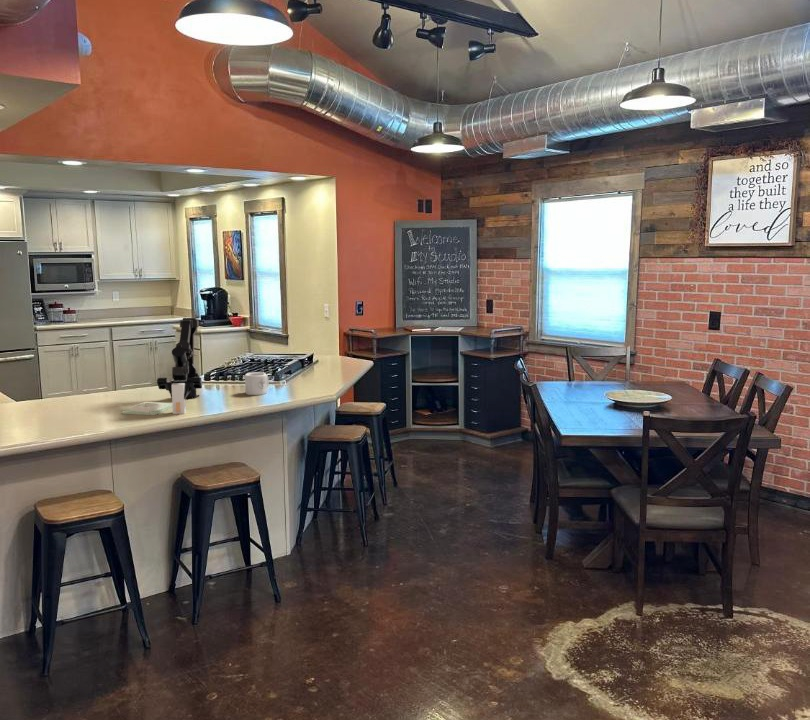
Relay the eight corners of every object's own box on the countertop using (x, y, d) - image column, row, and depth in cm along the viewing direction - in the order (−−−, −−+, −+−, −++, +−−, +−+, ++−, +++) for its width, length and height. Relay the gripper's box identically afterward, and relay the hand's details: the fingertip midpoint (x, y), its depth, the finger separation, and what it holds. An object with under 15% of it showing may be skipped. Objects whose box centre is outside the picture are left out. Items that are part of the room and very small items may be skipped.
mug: (255, 396, 340) (254, 376, 338) (240, 393, 346) (240, 374, 344) (275, 392, 350) (275, 373, 349) (261, 389, 357) (261, 370, 355)
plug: (174, 411, 305) (173, 383, 303) (185, 411, 306) (184, 383, 304) (172, 414, 300) (171, 385, 298) (184, 414, 301) (183, 385, 299)
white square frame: (145, 406, 311) (145, 401, 310) (162, 407, 308) (162, 403, 308) (131, 410, 302) (130, 406, 301) (149, 412, 299) (148, 407, 299)
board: (144, 404, 320) (144, 402, 320) (175, 405, 318) (175, 403, 318) (122, 413, 300) (122, 411, 300) (154, 415, 298) (154, 412, 298)
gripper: (156, 359, 302) (152, 389, 293) (200, 359, 305) (197, 388, 296) (160, 374, 311) (157, 403, 302) (203, 373, 314) (200, 402, 305)
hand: (178, 398), depth 301 cm, fingers closed on plug, 5 cm apart
